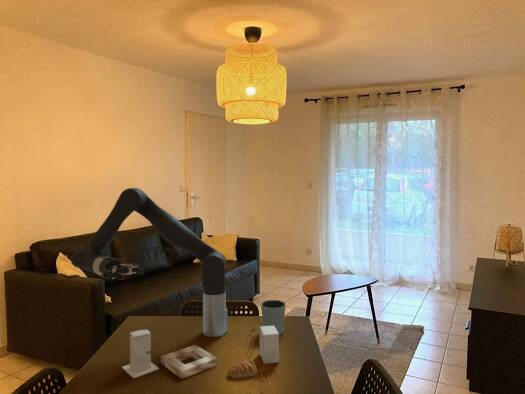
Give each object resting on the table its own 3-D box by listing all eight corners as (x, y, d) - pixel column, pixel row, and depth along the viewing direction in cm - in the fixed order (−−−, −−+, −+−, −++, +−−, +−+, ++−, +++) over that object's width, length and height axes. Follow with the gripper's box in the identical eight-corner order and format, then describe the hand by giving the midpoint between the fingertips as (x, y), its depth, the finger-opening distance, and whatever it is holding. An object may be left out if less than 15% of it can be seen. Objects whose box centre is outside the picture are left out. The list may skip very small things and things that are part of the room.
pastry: (233, 382, 130) (233, 371, 130) (224, 373, 136) (224, 362, 136) (258, 375, 135) (258, 363, 134) (249, 366, 141) (249, 355, 140)
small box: (279, 363, 143) (279, 333, 142) (263, 364, 142) (263, 335, 141) (274, 352, 151) (274, 325, 150) (259, 353, 150) (259, 325, 149)
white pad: (146, 359, 144) (146, 358, 144) (158, 369, 138) (158, 368, 138) (122, 367, 138) (122, 366, 138) (133, 378, 132) (133, 377, 132)
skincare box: (133, 372, 135) (132, 336, 134) (129, 366, 138) (128, 332, 137) (151, 367, 138) (151, 332, 137) (147, 362, 142) (147, 328, 141)
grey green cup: (289, 330, 171) (289, 302, 170) (277, 339, 162) (277, 309, 161) (269, 325, 176) (269, 298, 175) (256, 333, 168) (256, 304, 167)
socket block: (195, 351, 151) (195, 344, 151) (217, 365, 141) (217, 358, 141) (160, 363, 142) (160, 356, 142) (181, 379, 132) (181, 371, 131)
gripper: (89, 260, 149) (114, 267, 139) (124, 254, 160) (149, 260, 150) (90, 280, 149) (114, 289, 139) (124, 272, 161) (149, 280, 151)
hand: (132, 274), depth 145 cm, fingers open, 8 cm apart
